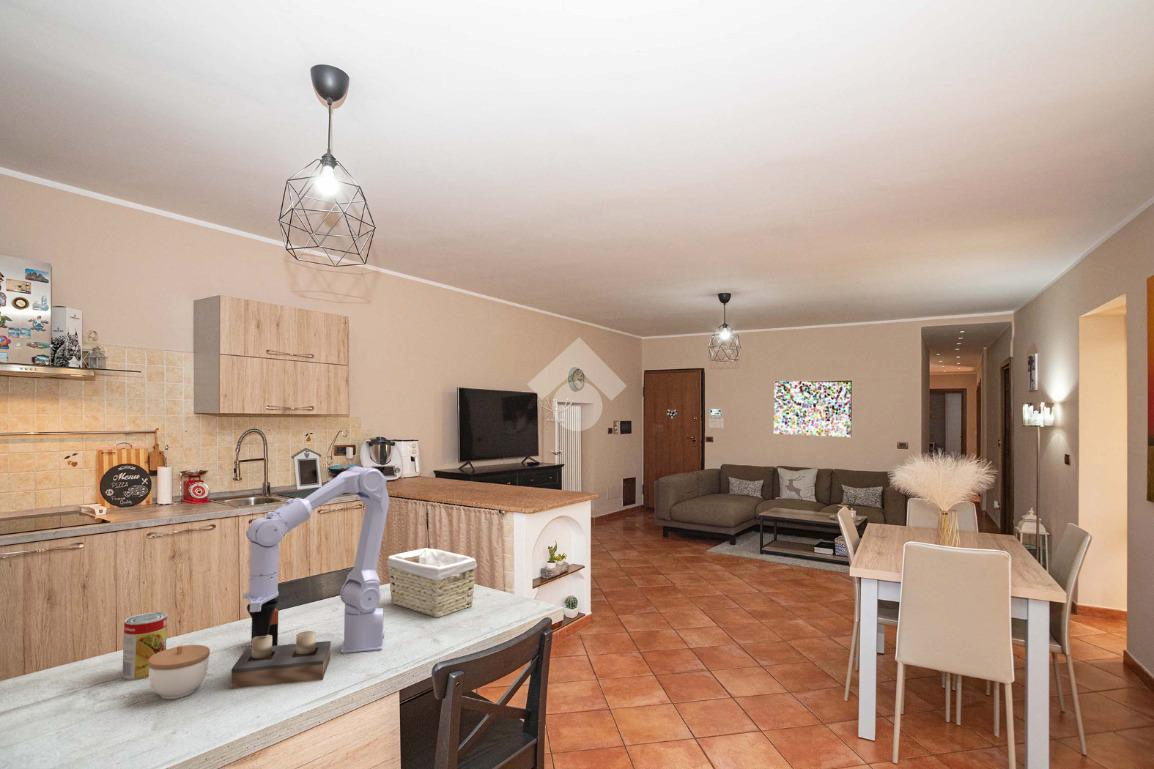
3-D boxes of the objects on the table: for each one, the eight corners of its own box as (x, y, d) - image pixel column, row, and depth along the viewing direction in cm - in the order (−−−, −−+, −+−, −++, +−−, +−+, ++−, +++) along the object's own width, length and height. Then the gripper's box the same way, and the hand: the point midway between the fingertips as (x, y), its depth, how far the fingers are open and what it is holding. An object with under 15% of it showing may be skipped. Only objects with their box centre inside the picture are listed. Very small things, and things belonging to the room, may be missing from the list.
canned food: (173, 667, 139) (175, 614, 140) (139, 682, 132) (141, 625, 132) (149, 663, 142) (150, 610, 142) (113, 677, 134) (115, 621, 135)
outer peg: (273, 650, 138) (274, 633, 138) (269, 656, 134) (270, 640, 134) (254, 651, 137) (254, 635, 137) (249, 658, 133) (249, 641, 133)
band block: (330, 658, 145) (330, 640, 145) (322, 679, 133) (323, 660, 133) (245, 666, 140) (246, 648, 140) (230, 688, 128) (231, 669, 129)
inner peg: (316, 646, 140) (316, 630, 141) (313, 652, 136) (314, 636, 137) (297, 648, 139) (298, 631, 139) (294, 654, 135) (294, 638, 136)
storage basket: (478, 606, 184) (479, 557, 185) (436, 621, 171) (436, 567, 172) (427, 592, 198) (427, 546, 199) (384, 605, 185) (385, 555, 186)
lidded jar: (162, 709, 119) (164, 660, 120) (136, 696, 125) (138, 649, 126) (218, 688, 129) (220, 643, 129) (192, 677, 134) (193, 633, 135)
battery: (259, 651, 149) (260, 609, 149) (250, 643, 154) (251, 603, 154) (278, 646, 152) (279, 605, 152) (269, 639, 157) (270, 599, 157)
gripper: (252, 566, 142) (250, 625, 142) (234, 582, 128) (232, 649, 128) (285, 564, 144) (283, 623, 144) (271, 580, 130) (269, 645, 130)
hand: (262, 635), depth 136 cm, fingers closed
